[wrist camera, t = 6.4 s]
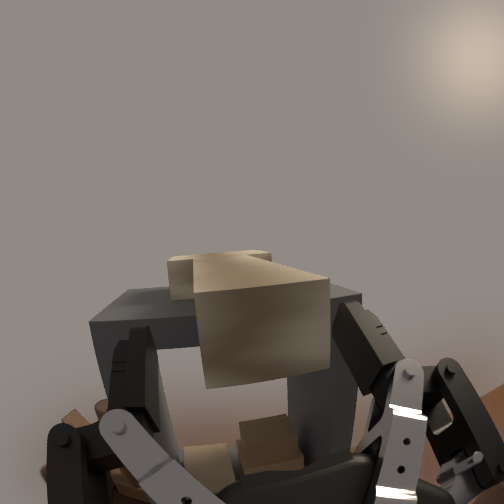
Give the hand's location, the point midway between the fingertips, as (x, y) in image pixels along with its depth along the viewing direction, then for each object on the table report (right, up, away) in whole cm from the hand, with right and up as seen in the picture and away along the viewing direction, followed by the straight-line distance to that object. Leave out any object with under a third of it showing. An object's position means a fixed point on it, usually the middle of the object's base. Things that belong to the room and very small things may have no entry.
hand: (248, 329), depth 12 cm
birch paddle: (-1, 0, +7) cm, 7 cm away
